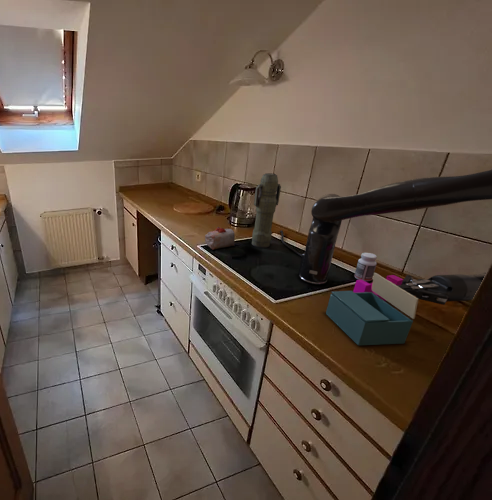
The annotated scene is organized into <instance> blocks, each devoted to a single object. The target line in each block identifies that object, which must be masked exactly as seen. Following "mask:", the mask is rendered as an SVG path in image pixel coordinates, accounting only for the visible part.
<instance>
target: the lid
mask: <svg viewBox="0 0 492 500" xmlns="http://www.w3.org/2000/svg"><path fill="white" fill-rule="evenodd" d="M372 282H373V284H372V291H374V292H375V293H376V294H378V295H379V296H381V297H382V298H384V299H385V300H387V301H386V302H387V303H388V304H390V305H391V306H393V307H394V308H396V309H397V310H400V312H401V313H403V314H404V315H406V316H407V317H409V318H410V319H411V320H415V319H416V315H417V310H418V309H417V308H418V303H419V299H418V298H416V296H413V295H411V294H410V293H408V292H406V291H405V290H403V289H401V288H400V287H398V286H396V285H395V284H393V283H392V282H390V281H388V280H387V279H386V277H384V276H382V275H380V274H379V273H377V272H374V275H373V278H372Z"/></svg>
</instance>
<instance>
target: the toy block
mask: <svg viewBox="0 0 492 500" xmlns="http://www.w3.org/2000/svg"><path fill="white" fill-rule="evenodd" d="M385 279H387V280H388V281H390V282H392V283H393V284H395V285H401V284H402V281H403V280H404V278H401V277H399V276H397V275H395V274H391V275H390V274H389V275H387V276H386V277H385ZM372 284H373V281H372V282H370V283H369V282H368V281H364V280H362V279H361V280H359V279H356V280H355V284H354V287H353V290H352V291H353V292H354V293H361V292H372V293H374V294H375V295H377V296H378V297H379V298H381V299H382V300H384V301H385V302H388V301H387V300H385V299H384V298H382V297H381V296H379V295H378V294H376V293H375V292H374V291H372Z"/></svg>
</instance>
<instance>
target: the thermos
mask: <svg viewBox="0 0 492 500" xmlns="http://www.w3.org/2000/svg"><path fill="white" fill-rule="evenodd" d="M281 188H282V186H281V184H280V183H279V177H278V174H276V173H271V172H270V173H267V172H266V173H264V174H262V177H261V179H260V183H259V184H257V185H256V187H255V191H254V192H255V193H254V201H253V205H254V207H255V219H254V221H255V222H254V228H253V230H252V234H251V240H252V241H251V245H252V246H254V247H255V248H261V249H262V248H264V249H265V248H269V247H270V246H271V241H272V237H273V231H272V227H273V221H274V214H275V213H276V209H277V206H279V202H280V195H281V190H282V189H281Z"/></svg>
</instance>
